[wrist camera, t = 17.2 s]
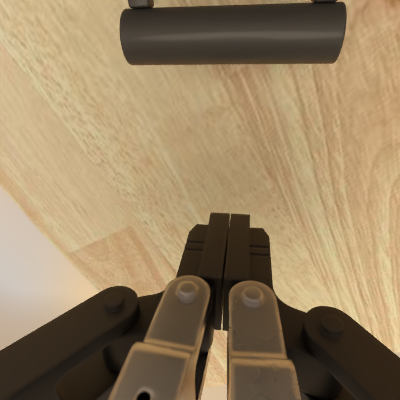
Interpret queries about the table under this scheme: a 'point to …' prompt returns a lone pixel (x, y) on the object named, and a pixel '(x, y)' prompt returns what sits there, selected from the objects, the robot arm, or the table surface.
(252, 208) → the table surface
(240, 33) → the drawer
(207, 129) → the table surface
